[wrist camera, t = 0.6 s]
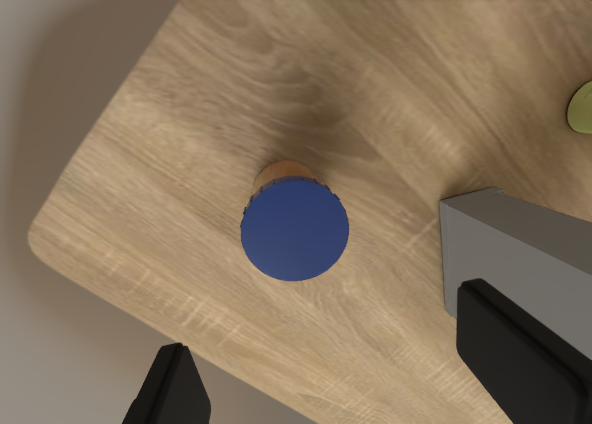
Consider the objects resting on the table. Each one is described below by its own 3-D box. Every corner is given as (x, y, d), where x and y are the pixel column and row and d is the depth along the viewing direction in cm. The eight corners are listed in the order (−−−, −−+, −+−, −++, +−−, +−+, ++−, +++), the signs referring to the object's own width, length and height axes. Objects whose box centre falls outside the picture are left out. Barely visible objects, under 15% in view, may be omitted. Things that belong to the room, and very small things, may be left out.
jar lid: (239, 175, 18) (236, 180, 16) (346, 173, 18) (353, 179, 17) (245, 271, 20) (243, 284, 18) (340, 267, 20) (346, 279, 19)
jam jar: (251, 160, 25) (241, 183, 16) (320, 159, 26) (347, 181, 17) (254, 225, 27) (247, 277, 18) (318, 223, 28) (341, 273, 19)
